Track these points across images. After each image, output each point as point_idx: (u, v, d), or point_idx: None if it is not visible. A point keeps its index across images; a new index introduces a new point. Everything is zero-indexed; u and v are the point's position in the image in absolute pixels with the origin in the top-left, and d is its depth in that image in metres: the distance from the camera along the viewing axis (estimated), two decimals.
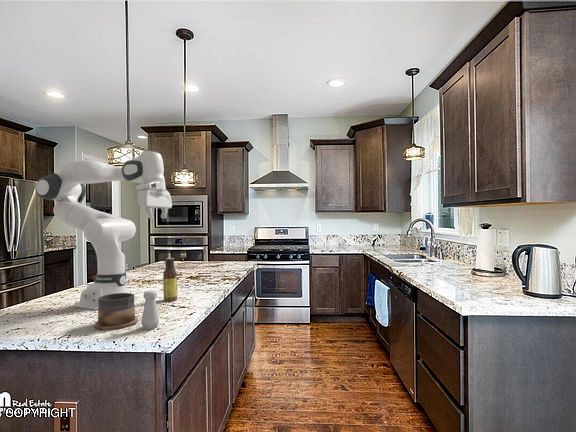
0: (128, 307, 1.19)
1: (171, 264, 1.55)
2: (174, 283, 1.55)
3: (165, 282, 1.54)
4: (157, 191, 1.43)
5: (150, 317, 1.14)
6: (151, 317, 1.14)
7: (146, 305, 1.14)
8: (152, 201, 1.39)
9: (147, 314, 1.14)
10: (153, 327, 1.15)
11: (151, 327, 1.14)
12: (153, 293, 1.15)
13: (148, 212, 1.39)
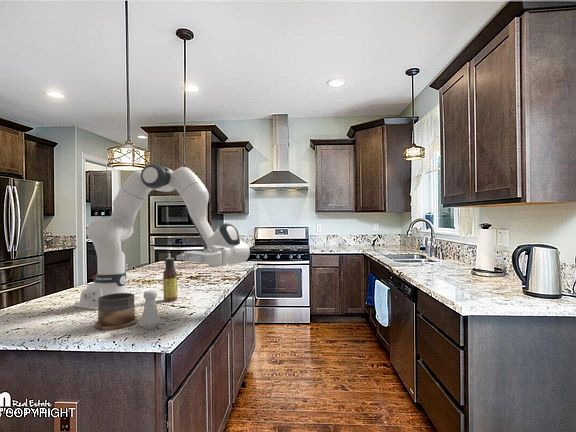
0: (128, 307, 1.19)
1: (171, 264, 1.55)
2: (174, 283, 1.55)
3: (165, 282, 1.54)
4: None
5: (150, 317, 1.14)
6: (151, 317, 1.14)
7: (146, 305, 1.14)
8: None
9: (147, 314, 1.14)
10: (153, 327, 1.15)
11: (151, 327, 1.14)
12: (153, 293, 1.15)
13: (196, 258, 1.22)
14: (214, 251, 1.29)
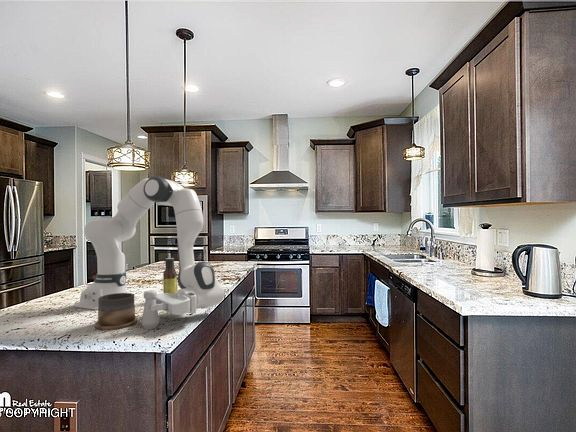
0: (128, 307, 1.19)
1: (171, 264, 1.55)
2: (174, 283, 1.55)
3: (165, 282, 1.54)
4: None
5: (150, 317, 1.14)
6: (151, 317, 1.14)
7: (146, 305, 1.14)
8: None
9: (147, 313, 1.14)
10: (153, 327, 1.15)
11: (151, 327, 1.14)
12: (153, 293, 1.15)
13: (158, 306, 1.15)
14: (182, 297, 1.19)
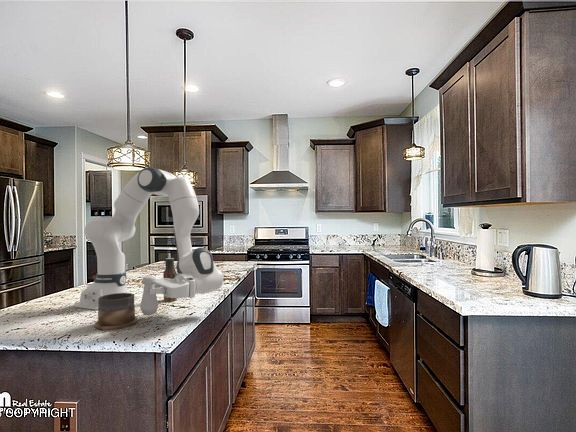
0: (128, 307, 1.19)
1: (171, 264, 1.55)
2: None
3: None
4: None
5: (149, 302, 1.14)
6: (150, 302, 1.14)
7: (145, 290, 1.15)
8: None
9: (145, 299, 1.14)
10: (152, 312, 1.15)
11: (150, 312, 1.14)
12: (152, 278, 1.15)
13: (157, 290, 1.15)
14: (181, 282, 1.20)
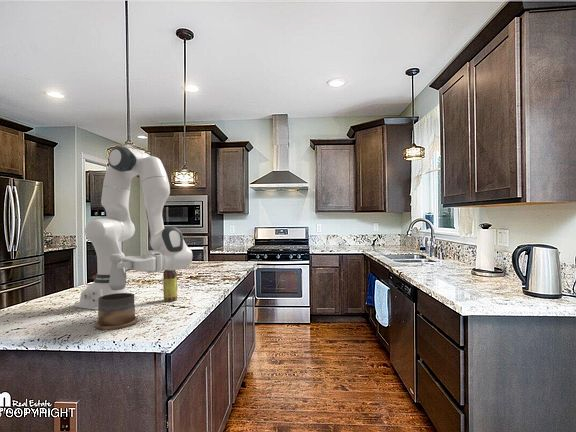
0: (128, 307, 1.19)
1: None
2: (174, 283, 1.55)
3: (165, 282, 1.54)
4: None
5: (116, 278, 1.19)
6: (118, 278, 1.19)
7: (112, 267, 1.20)
8: None
9: (113, 275, 1.19)
10: (120, 288, 1.20)
11: (118, 288, 1.19)
12: (119, 255, 1.20)
13: (124, 264, 1.20)
14: (149, 257, 1.25)
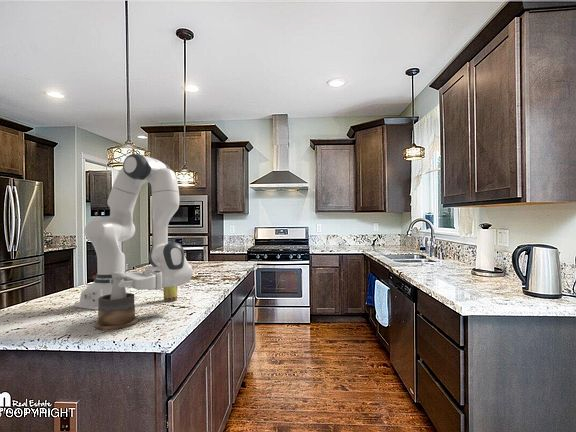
0: (128, 307, 1.19)
1: None
2: None
3: None
4: None
5: (117, 296, 1.19)
6: (119, 296, 1.19)
7: (114, 285, 1.20)
8: None
9: (114, 293, 1.19)
10: None
11: None
12: (121, 273, 1.20)
13: (126, 283, 1.18)
14: (149, 274, 1.24)
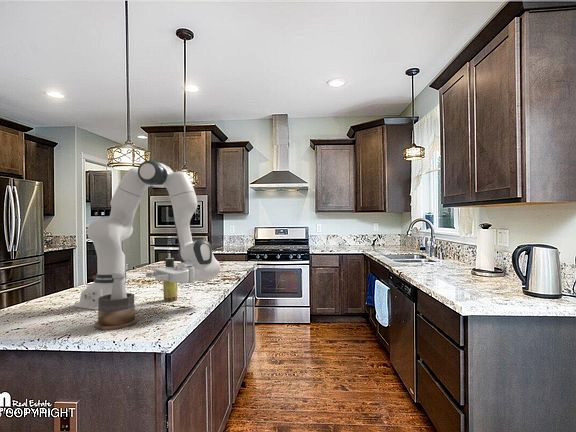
0: (128, 307, 1.19)
1: (171, 264, 1.55)
2: (174, 283, 1.55)
3: (165, 282, 1.54)
4: None
5: (118, 296, 1.19)
6: (119, 296, 1.19)
7: (114, 285, 1.20)
8: None
9: (114, 293, 1.19)
10: None
11: None
12: (121, 273, 1.20)
13: (163, 277, 1.27)
14: (182, 269, 1.34)
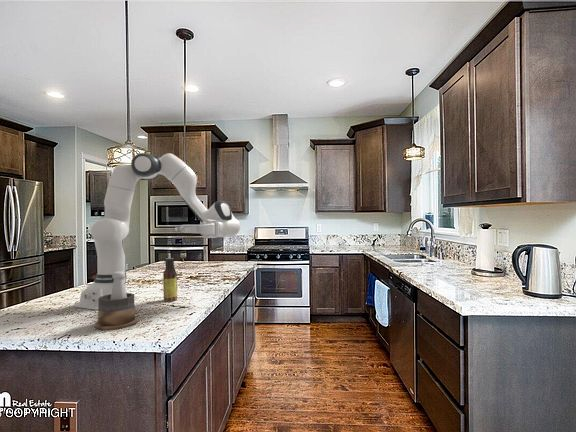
0: (128, 307, 1.19)
1: (171, 264, 1.55)
2: (174, 283, 1.55)
3: (165, 282, 1.54)
4: (206, 233, 1.50)
5: (118, 296, 1.19)
6: (119, 296, 1.19)
7: (114, 285, 1.20)
8: None
9: (114, 293, 1.19)
10: None
11: None
12: (121, 273, 1.20)
13: (192, 228, 1.41)
14: (208, 223, 1.48)
